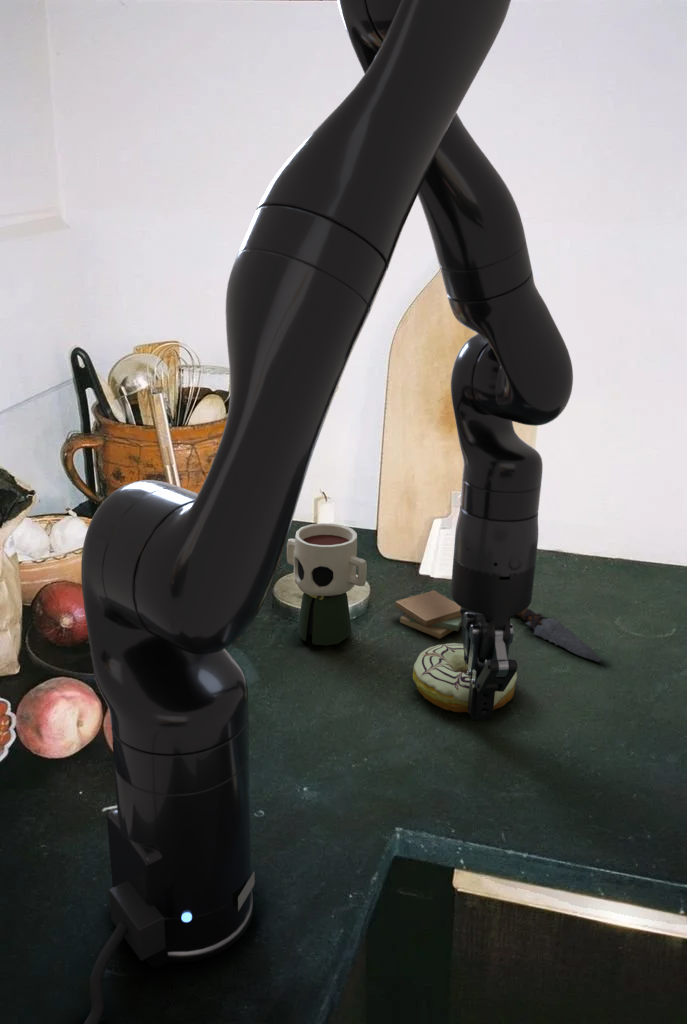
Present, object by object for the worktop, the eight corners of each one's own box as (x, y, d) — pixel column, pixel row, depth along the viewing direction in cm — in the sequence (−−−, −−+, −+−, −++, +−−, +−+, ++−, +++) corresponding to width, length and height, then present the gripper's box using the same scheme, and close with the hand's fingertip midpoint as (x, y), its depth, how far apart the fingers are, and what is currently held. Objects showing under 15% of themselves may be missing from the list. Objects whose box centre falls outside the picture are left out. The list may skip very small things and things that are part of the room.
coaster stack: (442, 646, 108) (443, 627, 108) (386, 622, 113) (387, 605, 113) (483, 621, 114) (485, 603, 114) (429, 600, 119) (430, 583, 119)
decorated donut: (503, 730, 93) (506, 697, 92) (399, 707, 96) (401, 675, 95) (522, 678, 102) (525, 648, 101) (427, 659, 105) (429, 629, 104)
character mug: (269, 634, 110) (268, 532, 105) (305, 612, 115) (305, 514, 111) (345, 663, 104) (348, 556, 100) (379, 638, 110) (384, 535, 105)
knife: (487, 594, 117) (521, 578, 118) (489, 608, 118) (522, 592, 119) (566, 670, 103) (604, 651, 105) (568, 684, 105) (605, 665, 106)
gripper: (440, 528, 92) (429, 682, 98) (471, 584, 80) (456, 757, 86) (515, 527, 93) (499, 680, 99) (556, 583, 81) (536, 754, 87)
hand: (479, 715), depth 92 cm, fingers closed
